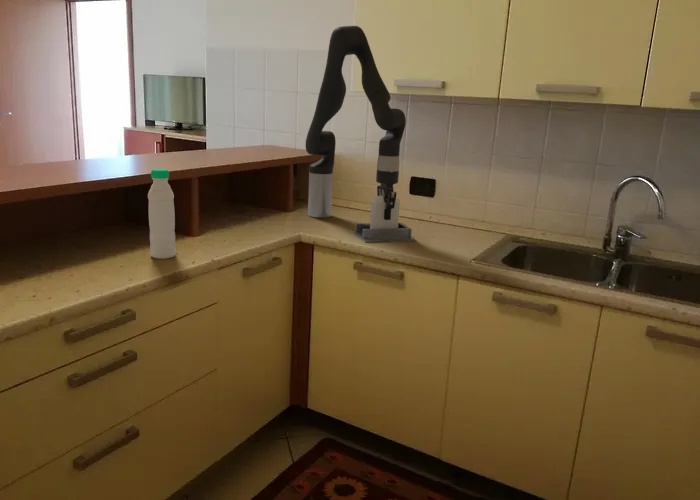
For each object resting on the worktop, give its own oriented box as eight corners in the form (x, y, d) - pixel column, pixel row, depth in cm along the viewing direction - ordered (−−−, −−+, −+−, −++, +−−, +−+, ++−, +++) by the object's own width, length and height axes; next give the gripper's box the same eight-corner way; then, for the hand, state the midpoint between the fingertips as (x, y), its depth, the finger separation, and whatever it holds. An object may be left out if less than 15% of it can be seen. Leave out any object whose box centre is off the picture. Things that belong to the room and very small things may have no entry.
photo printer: (373, 232, 199) (375, 196, 196) (367, 229, 203) (369, 194, 200) (399, 230, 204) (402, 195, 200) (393, 228, 207) (396, 193, 204)
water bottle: (153, 260, 164) (149, 171, 157) (148, 253, 170) (144, 168, 163) (178, 258, 167) (175, 170, 161) (173, 251, 173) (170, 167, 167)
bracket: (353, 232, 208) (354, 222, 207) (400, 231, 213) (401, 221, 212) (364, 242, 195) (365, 231, 194) (415, 241, 200) (415, 230, 199)
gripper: (371, 165, 203) (368, 213, 208) (384, 171, 190) (380, 222, 195) (391, 166, 205) (388, 213, 210) (405, 172, 192) (402, 222, 197)
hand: (384, 217), depth 202 cm, fingers closed on photo printer, 4 cm apart
